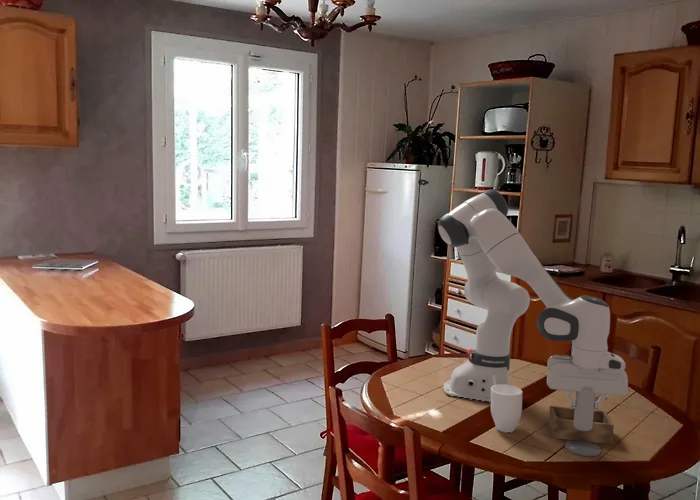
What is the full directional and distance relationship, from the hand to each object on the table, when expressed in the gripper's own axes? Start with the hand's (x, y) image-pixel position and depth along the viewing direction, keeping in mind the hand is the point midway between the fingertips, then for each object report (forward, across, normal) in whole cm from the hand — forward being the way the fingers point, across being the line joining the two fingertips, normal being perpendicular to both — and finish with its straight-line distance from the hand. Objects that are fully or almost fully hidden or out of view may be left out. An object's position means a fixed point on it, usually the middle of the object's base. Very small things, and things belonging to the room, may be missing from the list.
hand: (584, 407), depth 168 cm
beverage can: (+6, 0, 0) cm, 6 cm away
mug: (+12, -20, +10) cm, 25 cm away
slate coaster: (+12, +1, 0) cm, 12 cm away
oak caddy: (+12, +1, +11) cm, 16 cm away
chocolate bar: (+12, +11, +40) cm, 44 cm away
